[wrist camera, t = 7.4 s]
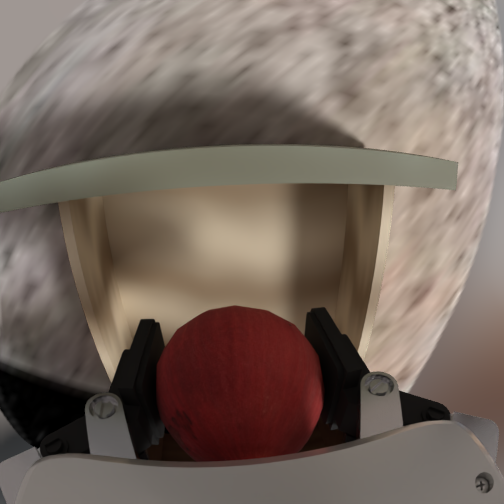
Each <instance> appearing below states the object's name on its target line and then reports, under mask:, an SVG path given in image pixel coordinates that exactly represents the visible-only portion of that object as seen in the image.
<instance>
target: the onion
mask: <svg viewBox="0 0 504 504" xmlns="http://www.w3.org/2000/svg"><path fill="white" fill-rule="evenodd" d="M324 396H325V388H324V382H323V377H322V371H321V366H320V360H319V356H318V354H317V353H316V351H315V349H314V348H313V346H312V345H311V343H310V342H309V341H308V340H307V338H306V337H305V336H304V335H303V334H302V332H301V331H300V330H299V329H298V328H297V327H296V325H295V324H293V323H291V322H289V321H287V320H285V319H283V318H281V317H279V316H277V315H276V314H274V313H272V312H270V311H268V310H263V309H257V308H250V307H243V306H237V305H233V306H228V307H222V308H216V309H210V310H207V311H205V312H203V313H201V314H200V315H198V316H196V317H195V318H193V319H192V320H190V321H189V322H187V323H186V324H184V325H183V326H181V327H180V328H178V329H177V330H176V332H175V333H174V335H173V336H172V338H171V339H170V341H169V342H168V344H167V345H166V347H165V348H164V350H163V352H162V354H161V356H160V359H159V361H158V363H157V374H156V405H157V408H158V411H159V415H160V418H161V420H162V422H163V424H164V425H165V427H166V429H167V430H168V432H169V433H170V434H171V436H172V437H173V438H174V439H175V441H176V442H177V443H178V444H179V445H180V447H181V448H182V449H183V450H184V451H185V452H186V453H187V454H188V455H189V456H190V457H191V458H192V459H194V460H195V461H196V462H210V461H232V460H246V459H256V458H266V457H274V456H281V455H288V454H294V453H298V452H299V451H300V450H301V449H302V448H303V446H304V445H305V444H306V443H307V441H308V440H309V438H310V436H311V435H312V433H313V431H314V429H315V426H316V424H317V422H318V419H319V417H320V414H321V411H322V408H323V404H324Z"/></svg>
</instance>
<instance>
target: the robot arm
mask: <svg viewBox="0 0 504 504" xmlns="http://www.w3.org/2000/svg"><path fill="white" fill-rule="evenodd" d="M304 336H305V337H306V338H307V340H308V341H309V342H310V343H311V345H312V346H313V348H314V349H315V351H316V353H317V354H318V356H319V360H320V366H321V371H322V377H323V382H324V388H325V396H324V404H323V408H322V411H321V414H320V415H321V418H322V421H323V423H324V424H328V425H329V428H330V430H334V429H339V430H340V431H342V432H343V443H342V444H339V445H335V446H330V447H326V448H321V449H316V450H311V451H306V452H300V453H294V454H288V455H281V456H274V457H266V458H256V459H246V460H232V461H210V462H176V461H155V460H150V458H149V455H148V452H147V448H149V447H150V446H151V444H154V445H159V438H163V437H164V430H165V425H164V424H163V422H162V420H161V418H160V415H159V411H158V408H157V405H156V374H157V363H158V361H159V359H160V356H161V354H162V352H163V350H164V348H165V344H164V340H163V336H162V331H161V327H160V323H159V322H155V320H154V319H141V320H140V322H139V325H138V328H137V330H136V333H135V336H134V339H133V341H132V344H131V347H130V349H125V350H124V351H123V353H122V355H121V358H120V361H119V364H118V366H117V369H116V372H115V375H114V378H113V381H112V384H111V387H110V390H109V393H108V392H105V393H99V394H96V395H94V396H93V397H91V398H90V399H89V400H88V401H87V403H86V405H85V416H83V417H81V418H79V419H77V420H76V421H74V422H72V423H70V424H68V425H66V426H64V427H62V428H61V429H59V430H57V431H55V432H53V433H51V434H49V435H48V436H46V437H45V438H44V439H43V440H42V442H41V445H40V448H39V449H36V447H33V448H31V449H29V450H27V451H25V452H23V453H21V454H18V455H16V456H14V457H12V458H10V459H7V460H5V461H3V462H1V463H0V487H1V490H2V492H3V495H4V497H5V500H6V502H7V504H504V478H503V476H502V474H501V473H500V471H499V469H498V467H497V465H496V464H495V462H496V456H497V447H498V437H499V430H498V427H497V425H496V424H495V423H494V422H493V421H491V420H489V419H484V418H479V417H475V416H471V415H466V414H462V413H458V412H454V413H453V414H450V412H449V410H448V409H447V408H446V407H445V406H444V405H443V404H440V403H438V402H435V401H431V400H428V399H424V398H421V397H418V396H414V395H411V394H408V393H405V392H402V391H399V389H398V384H397V381H396V380H395V379H394V377H392V376H391V375H389V374H387V373H384V372H371V373H370V371H369V370H368V368H367V366H366V365H365V363H364V361H363V360H362V358H361V357H360V355H359V353H358V352H357V350H356V348H355V347H354V345H353V344H352V342H351V340H350V339H349V337H348V336H347V335H346V334H341V332H340V331H339V329H338V327H337V326H336V324H335V323H334V321H333V319H332V318H331V316H330V314H329V313H328V311H327V310H326V308H325V307H319V308H312V309H311V311H310V312H307V314H306V324H305V334H304Z"/></svg>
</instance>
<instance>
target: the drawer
mask: <svg viewBox="0 0 504 504" xmlns="http://www.w3.org/2000/svg"><path fill="white" fill-rule="evenodd" d="M457 170H458V162H454V161H449V160H444V159H439V158H433V157H427V156H421V155H415V154H409V153H402V152H395V151H387V150H379V149H369V148H357V147H344V146H327V145H302V144H242V145H217V146H200V147H186V148H174V149H164V150H154V151H146V152H137V153H130V154H123V155H116V156H109V157H103V158H97V159H91V160H86V161H80V162H75V163H70V164H66V165H61V166H57V167H53V168H49V169H45V170H41V171H37V172H33V173H29V174H26V175H22V176H18V177H15V178H12V179H8V180H5V181H2V182H0V213H2V212H7V211H12V210H17V209H22V208H28V207H33V206H39V205H45V204H51V203H57V202H58V205H59V212H60V218H61V223H62V229H63V234H64V239H65V244H66V248H67V253H68V257H69V261H70V265H71V269H72V273H73V277H74V281H75V284H76V288H77V291H78V295H79V298H80V301H81V305H82V308H83V311H84V314H85V317H86V320H87V323H88V326H89V329H90V331H91V334H92V337H93V340H94V342H95V345H96V347H97V350H98V353H99V355H100V358H101V360H102V362H103V365H104V367H105V370H106V372H107V374H108V376H109V379H110V381H111V383H112V381H113V378H114V375H115V372H116V369H117V366H118V364H119V361H120V358H121V355H122V353H123V351H124V350H125V349H130V347H131V344H132V341H133V339H134V336H135V333H136V330H137V328H138V325H139V322H140V320H141V319H154V320H155V322H159V323H160V327H161V331H162V336H163V340H164V344H165V347H166V345H167V344H168V342H169V341H170V339H171V338H172V336H173V335H174V333H175V332H176V330H177V329H178V328H180V327H181V326H183V325H184V324H186V323H187V322H189V321H190V320H192V319H193V318H195V317H196V316H198V315H200V314H201V313H203V312H205V311H207V310H210V309H216V308H222V307H228V306H233V305H237V306H243V307H250V308H257V309H263V310H268V311H270V312H272V313H274V314H276V315H277V316H279V317H281V318H283V319H285V320H287V321H289V322H291V323H293V324H295V325H296V327H297V328H298V329H299V330H300V331H301V332H302V334H303V335H304V334H305V324H306V314H307V312H310V311H311V309H312V308H319V307H325V308H326V310H327V311H328V313H329V314H330V316H331V318H332V319H333V321H334V323H335V324H336V326H337V327H338V329H339V331H340V332H341V334H346V335H347V336H348V337H349V339H350V340H351V342H352V344H353V345H354V347H355V348H356V350H357V352H358V353H359V355H360V357H361V358H362V360H363V361H364V358H365V355H366V351H367V347H368V343H369V340H370V336H371V332H372V328H373V323H374V319H375V315H376V310H377V306H378V301H379V296H380V291H381V286H382V281H383V275H384V269H385V263H386V257H387V251H388V244H389V237H390V229H391V220H392V211H393V201H394V189H395V186H410V187H424V188H437V189H448V190H456V183H457Z"/></svg>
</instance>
